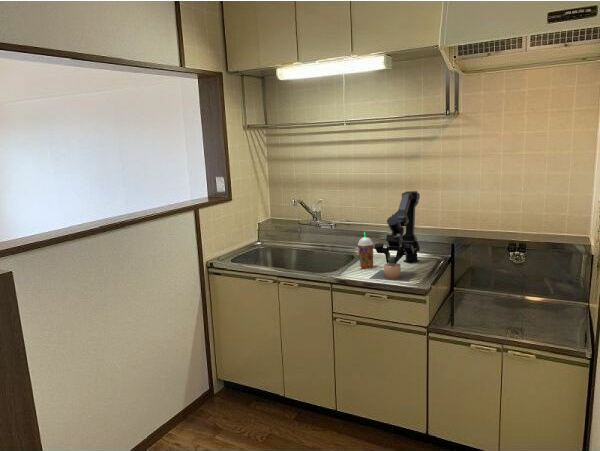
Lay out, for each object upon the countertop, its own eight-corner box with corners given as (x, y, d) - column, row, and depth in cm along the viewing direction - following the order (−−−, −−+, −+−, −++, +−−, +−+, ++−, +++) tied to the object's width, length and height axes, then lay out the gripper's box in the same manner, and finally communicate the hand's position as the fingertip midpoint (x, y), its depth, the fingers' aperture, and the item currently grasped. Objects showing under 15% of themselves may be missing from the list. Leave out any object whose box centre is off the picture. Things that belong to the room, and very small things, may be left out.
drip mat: (369, 280, 223) (368, 278, 223) (380, 271, 237) (380, 269, 237) (408, 283, 213) (408, 281, 213) (418, 273, 227) (418, 272, 226)
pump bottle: (387, 274, 228) (386, 260, 226) (403, 275, 224) (402, 260, 223) (382, 278, 221) (381, 264, 220) (398, 279, 217) (397, 265, 216)
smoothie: (357, 270, 243) (355, 233, 240) (361, 266, 251) (358, 230, 247) (373, 270, 240) (370, 233, 237) (376, 266, 248) (373, 230, 245)
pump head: (389, 264, 224) (389, 256, 223) (396, 264, 222) (396, 256, 221) (386, 267, 219) (385, 259, 218) (393, 267, 217) (392, 259, 217)
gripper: (374, 227, 226) (368, 254, 219) (411, 227, 217) (406, 255, 209) (380, 239, 234) (374, 265, 227) (416, 240, 225) (411, 267, 218)
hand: (391, 263), depth 220 cm, fingers closed on pump head, 4 cm apart
